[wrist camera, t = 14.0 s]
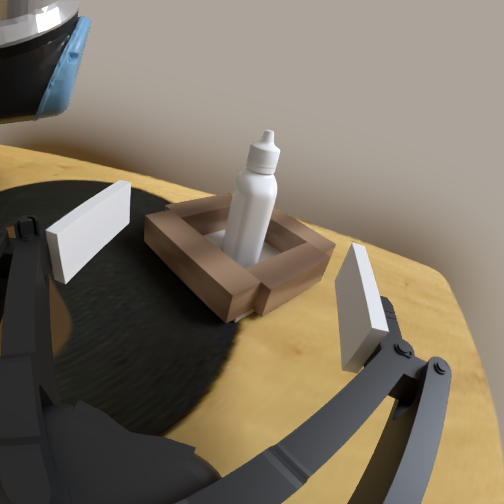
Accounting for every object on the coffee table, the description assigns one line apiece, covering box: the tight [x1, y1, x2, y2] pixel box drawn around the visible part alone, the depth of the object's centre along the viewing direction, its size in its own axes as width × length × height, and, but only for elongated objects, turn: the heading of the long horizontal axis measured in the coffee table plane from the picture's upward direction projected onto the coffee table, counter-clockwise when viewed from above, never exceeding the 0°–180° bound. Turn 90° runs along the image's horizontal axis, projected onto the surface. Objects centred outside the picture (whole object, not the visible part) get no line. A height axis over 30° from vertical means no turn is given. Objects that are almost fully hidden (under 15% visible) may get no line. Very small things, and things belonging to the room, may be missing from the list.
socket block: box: [144, 193, 336, 323], centre depth 28 cm, size 14×14×3 cm
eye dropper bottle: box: [222, 130, 280, 269], centre depth 25 cm, size 4×6×12 cm
